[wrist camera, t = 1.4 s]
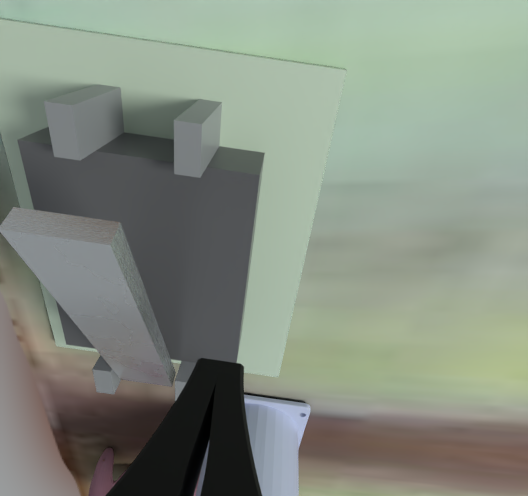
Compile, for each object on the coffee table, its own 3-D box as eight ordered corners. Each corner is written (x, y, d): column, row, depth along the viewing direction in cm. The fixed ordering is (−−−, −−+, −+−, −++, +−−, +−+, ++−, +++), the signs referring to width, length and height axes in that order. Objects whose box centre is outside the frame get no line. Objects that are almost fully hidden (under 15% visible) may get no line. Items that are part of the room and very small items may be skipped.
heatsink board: (278, 370, 26) (275, 436, 22) (61, 339, 26) (16, 400, 22) (345, 68, 16) (364, 85, 12) (-20, 14, 16) (-137, 11, 11)
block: (175, 372, 21) (172, 386, 21) (125, 365, 21) (120, 379, 21) (120, 222, 10) (110, 244, 10) (13, 207, 10) (-3, 228, 10)
